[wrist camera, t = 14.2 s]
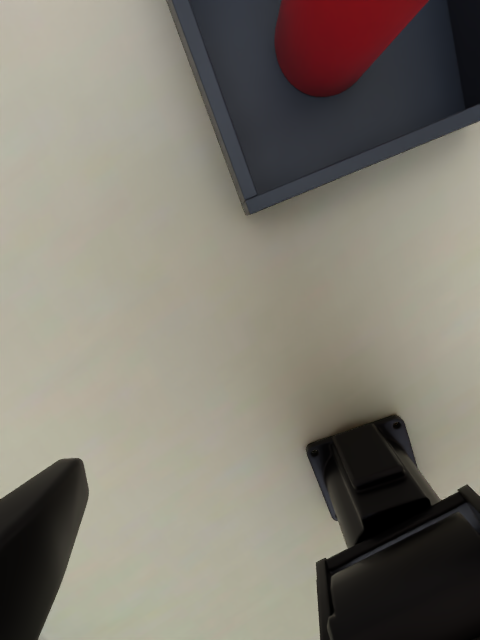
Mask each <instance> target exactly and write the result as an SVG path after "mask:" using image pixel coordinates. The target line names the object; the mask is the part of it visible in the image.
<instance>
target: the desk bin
mask: <svg viewBox="0 0 480 640" xmlns="http://www.w3.org/2000/svg"><path fill="white" fill-rule="evenodd" d="M166 1H167V4H168V6H169V9H170V12H171V15H172V17H173V20H174V23H175V25H176V28H177V31H178V34H179V36H180V39H181V42H182V44H183V47H184V50H185V53H186V55H187V58H188V61H189V63H190V66H191V69H192V71H193V74H194V77H195V80H196V82H197V85H198V88H199V90H200V93H201V96H202V99H203V101H204V104H205V107H206V109H207V112H208V115H209V117H210V120H211V123H212V126H213V128H214V131H215V134H216V136H217V139H218V142H219V145H220V147H221V150H222V153H223V155H224V158H225V161H226V164H227V166H228V169H229V172H230V174H231V177H232V180H233V182H234V185H235V188H236V191H237V193H238V196H239V199H240V201H241V204H242V207H243V210H244V212H245V215H250V214H253V213H256V212H258V211H260V210H263V209H265V208H268V207H270V206H273V205H275V204H278V203H280V202H282V201H285V200H287V199H290V198H292V197H295V196H297V195H300V194H302V193H305V192H307V191H309V190H312V189H314V188H317V187H319V186H322V185H324V184H327V183H329V182H331V181H334V180H336V179H339V178H341V177H344V176H346V175H349V174H351V173H353V172H356V171H358V170H361V169H363V168H366V167H368V166H371V165H373V164H375V163H378V162H380V161H383V160H385V159H388V158H390V157H393V156H395V155H397V154H400V153H402V152H405V151H407V150H410V149H412V148H415V147H417V146H420V145H422V144H424V143H427V142H429V141H432V140H434V139H437V138H439V137H442V136H444V135H446V134H449V133H451V132H454V131H456V130H459V129H461V128H464V127H466V126H468V125H471V124H473V123H476V122H478V121H480V0H429V1H428V2H427V3H426V4H425V6H424V7H423V8H422V9H421V10H420V11H419V12H418V13H417V14H416V16H415V17H414V18H413V19H412V20H411V21H410V22H409V23H408V25H407V26H406V27H405V28H404V29H403V30H402V31H401V32H400V34H399V35H398V36H397V37H396V38H395V39H394V40H393V41H392V42H391V44H390V45H389V46H388V47H387V48H386V49H385V50H384V51H383V53H382V54H381V55H380V56H379V57H378V58H377V59H376V60H375V61H374V63H373V64H372V65H371V66H370V67H369V68H368V69H367V70H366V72H365V73H364V74H363V75H362V76H361V77H360V78H359V79H358V80H357V82H356V83H354V84H353V85H352V86H351V87H350V88H348V89H347V90H345V91H343V92H341V93H339V94H336V95H333V96H328V97H315V96H311V95H308V94H305V93H303V92H301V91H300V90H298V89H296V88H295V87H294V86H293V85H292V84H291V83H290V82H289V81H288V80H287V78H286V77H285V75H284V74H283V72H282V70H281V68H280V66H279V63H278V61H277V57H276V52H275V28H276V23H277V19H278V14H279V10H280V5H281V1H282V0H166Z"/></svg>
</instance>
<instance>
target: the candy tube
mask: <svg viewBox="0 0 480 640" xmlns="http://www.w3.org/2000/svg"><path fill="white" fill-rule="evenodd" d="M428 1H429V0H282V1H281V5H280V10H279V14H278V19H277V23H276V28H275V52H276V57H277V61H278V63H279V66H280V68H281V70H282V72H283V74H284V75H285V77H286V78H287V80H288V81H289V82H290V83H291V84H292V85H293V86H294V87H295V88H296V89H298V90H300V91H301V92H303V93H305V94H308V95H311V96H315V97H328V96H333V95H336V94H339V93H341V92H343V91H345V90H347V89H348V88H350V87H351V86H352V85H353V84H354V83H356V82H357V80H358V79H359V78H360V77H361V76H362V75H363V74H364V73H365V72H366V70H367V69H368V68H369V67H370V66H371V65H372V64H373V63H374V61H375V60H376V59H377V58H378V57H379V56H380V55H381V54H382V53H383V51H384V50H385V49H386V48H387V47H388V46H389V45H390V44H391V42H392V41H393V40H394V39H395V38H396V37H397V36H398V35H399V34H400V32H401V31H402V30H403V29H404V28H405V27H406V26H407V25H408V23H409V22H410V21H411V20H412V19H413V18H414V17H415V16H416V14H417V13H418V12H419V11H420V10H421V9H422V8H423V7H424V6H425V4H426V3H427V2H428Z"/></svg>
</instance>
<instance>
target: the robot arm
mask: <svg viewBox="0 0 480 640" xmlns="http://www.w3.org/2000/svg"><path fill="white" fill-rule="evenodd" d="M396 422H398V423H397V424H396V425H393V424H394V423H396ZM313 450H317V451H316V452H313V453H312V451H313ZM306 452H307V456H308V458H309V461H310V463H311V466H312V468H313V471H314V473H315V476H316V478H317V481H318V483H319V486H320V488H321V491H322V493H323V496H324V498H325V501H326V503H327V506H328V509H329V511H330V514H331V516H332V518H333V519H334V520H335V521H338V522H339V525H340V528H341V531H342V534H343V536H344V539H345V542H346V545H347V548H348V549H346V550H344V551H342V552H340V553H338V554H336V555H334V556H332V557H330V558H329V559H326V558H324V559H322V560H320V561H318V562H316V571H317V596H318V611H319V626H320V640H480V496H479V495H478V494H477V493H476V492H474V491H473V490H472V489H471V488H470V487H469V486H468V485H465V486H463V487H462V488H460V489H458V492H457V493H455V494H453V495H451V496H449V497H447V498H445V499H443V500H441V499H440V498H439V497H438V495H437V494H436V493H435V491H434V490H433V489H432V487H431V486H430V485H429V483H428V482H427V481H426V479H425V478H424V476H423V475H422V474H421V472H420V471H419V470H418V468H417V464H416V461H415V457H414V454H413V450H412V447H411V444H410V440H409V437H408V433H407V430H406V426H405V423H404V421H403V420H402V419H401V417H399V416H397V415H394V416H390V417H387V418H384V419H381V420H378V421H375V422H372V423H369V424H366V425H363V426H361V427H358V428H355V429H352V430H349V431H346V432H343V433H340V434H337V435H334V436H331V437H328V438H325V439H322V440H319V441H316V442H314V443H311V444H309V445H308V446H307V447H306ZM88 496H89V489H88V484H87V478H86V473H85V468H84V464H83V461H82V460H81V459H79V458H70V459H61V460H58V461H57V462H55V463H54V464H52V465H51V466H49V467H48V468H46V469H45V470H43V471H42V472H40V473H39V474H37V475H36V476H34V477H33V478H31V479H30V480H29V481H27V482H26V483H24V484H23V485H21V486H20V487H18V488H17V489H15V490H14V491H12V492H11V493H9V494H8V495H6V496H5V497H3V498H2V499H0V640H38V638H39V635H40V633H41V631H42V628H43V626H44V623H45V621H46V619H47V616H48V614H49V612H50V609H51V607H52V604H53V602H54V600H55V597H56V595H57V592H58V590H59V587H60V585H61V582H62V579H63V577H64V574H65V571H66V568H67V565H68V561H69V558H70V555H71V552H72V549H73V546H74V543H75V539H76V536H77V533H78V530H79V527H80V524H81V520H82V517H83V514H84V511H85V508H86V505H87V501H88Z"/></svg>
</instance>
